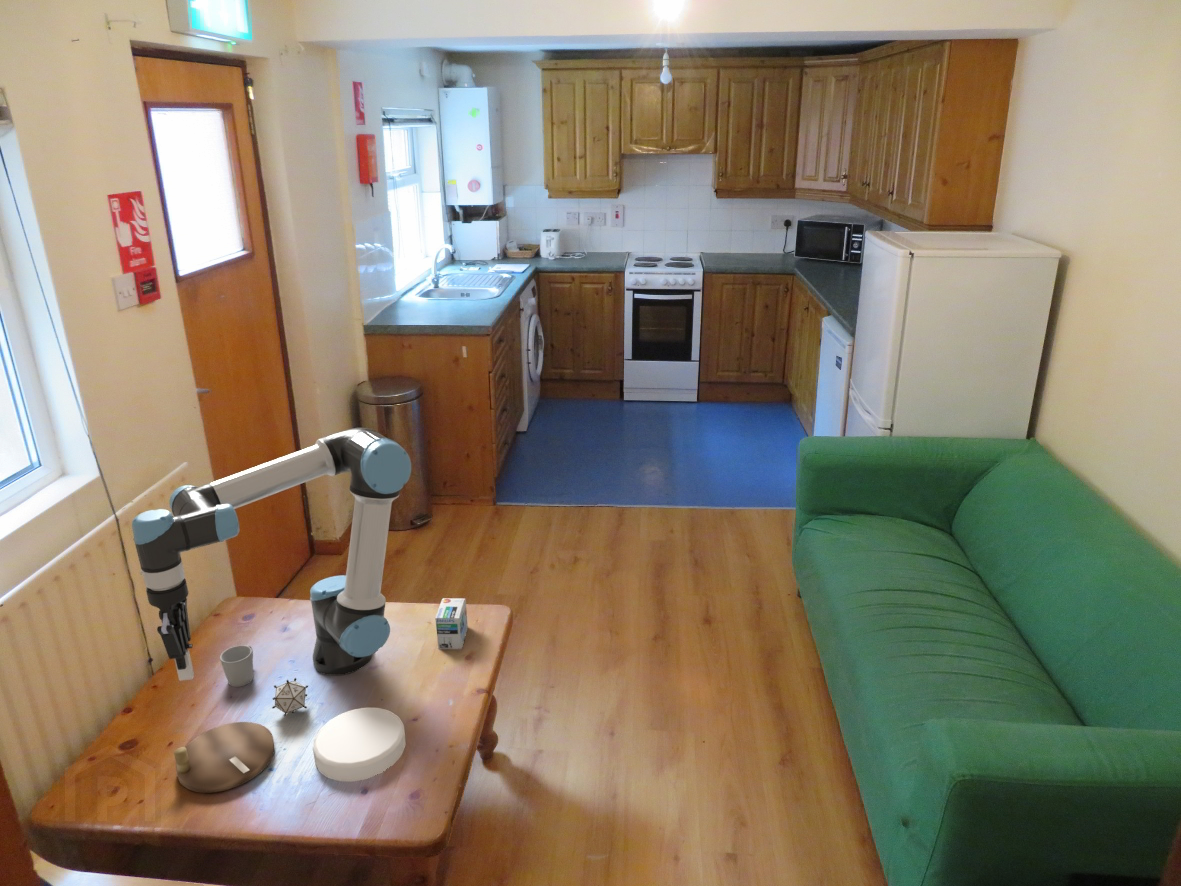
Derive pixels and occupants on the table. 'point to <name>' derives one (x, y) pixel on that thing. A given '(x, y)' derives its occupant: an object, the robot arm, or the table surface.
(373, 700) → the table surface
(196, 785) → the turntable
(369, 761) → the container
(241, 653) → the cup
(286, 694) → the game die
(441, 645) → the light bulb box
